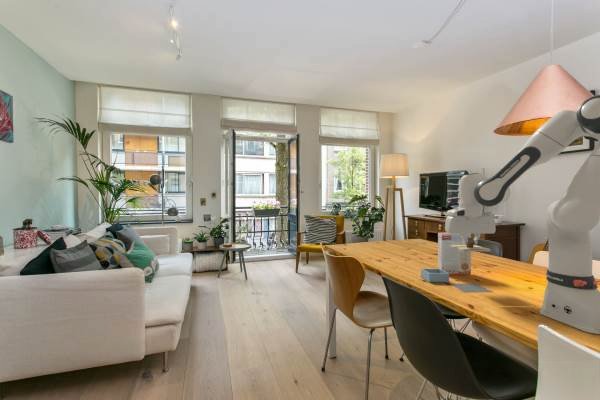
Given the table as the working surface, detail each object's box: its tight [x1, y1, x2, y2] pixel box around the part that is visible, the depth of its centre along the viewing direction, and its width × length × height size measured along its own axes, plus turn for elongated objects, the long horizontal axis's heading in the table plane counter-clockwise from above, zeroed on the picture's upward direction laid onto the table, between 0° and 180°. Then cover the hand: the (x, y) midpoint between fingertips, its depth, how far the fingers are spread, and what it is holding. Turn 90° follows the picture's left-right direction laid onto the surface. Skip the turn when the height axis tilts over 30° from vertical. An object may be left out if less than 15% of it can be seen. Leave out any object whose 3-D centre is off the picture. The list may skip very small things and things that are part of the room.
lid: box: [451, 236, 492, 252], centre depth 131 cm, size 11×11×5 cm
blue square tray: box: [420, 268, 450, 284], centre depth 142 cm, size 9×9×4 cm
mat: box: [450, 282, 493, 294], centre depth 131 cm, size 12×12×1 cm
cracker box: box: [437, 231, 472, 276], centre depth 154 cm, size 14×6×21 cm, turn 85°
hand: (469, 244), depth 131 cm, fingers closed on lid, 3 cm apart
